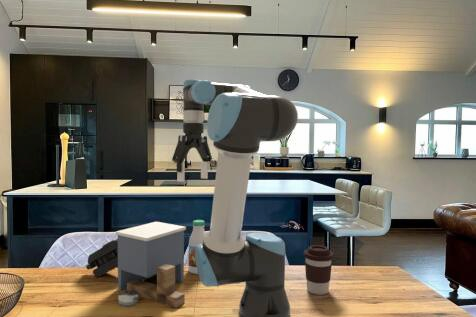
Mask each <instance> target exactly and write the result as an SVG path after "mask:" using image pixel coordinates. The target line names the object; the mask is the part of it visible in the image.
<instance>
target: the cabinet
mask: <svg viewBox="0 0 476 317" xmlns="http://www.w3.org/2000/svg"><path fill="white" fill-rule="evenodd" d="M186 230H187V226H183V225H177V224H173V223H166V222H160V221H153V222H150V223H149V222H148V223H144V224H141V225H138V226H137V225H136V226H133V227H128V228H125V229H120V230H117V231H115V236H117V239H118V268H117V290H120V291H122V290H125V289H127V283H128V282H130V281H133V280H135V279H138V280H141V281H143V280H144V281H146V280H147V279H150V277H151V278H152V276H153V277H155V276H157V267H160V266H162V265H165V264H168V265H172V266H175V282H178V283H182V282H184V280H185V275H184V274H185V231H186ZM154 275H155V276H154ZM145 279H146V280H145Z"/></svg>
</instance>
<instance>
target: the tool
mask: <svg viewBox="0 0 476 317" xmlns="http://www.w3.org/2000/svg"><path fill="white" fill-rule="evenodd" d="M86 262H87V265H86V266H85V268H86V270H88V271H89V270H92V269H93V270H92V274H93V276H94V277H95V278H99V277H101V276H103V275H105V274H107V273H109V272H111V271H112V270H115V269H116V268H117V269H118V238H116V239H112V240H110V241H108V242H107V243H104V244H103V245H102V246H101V247H100V248H99V249H97V250H96V251H94V252H92V253H91V254H89V255H88V257H87V261H86Z"/></svg>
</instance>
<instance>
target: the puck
mask: <svg viewBox="0 0 476 317" xmlns="http://www.w3.org/2000/svg"><path fill="white" fill-rule="evenodd" d="M117 296H118V297H117V298H118V302H117V303H118V306H120V307H122V308H129V307H134V306H136V305H137V304H138V303H139V295H138V292H137V291H133V290H128V291H127V290H124V291H121V292H119V294H118V295H117Z"/></svg>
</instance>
